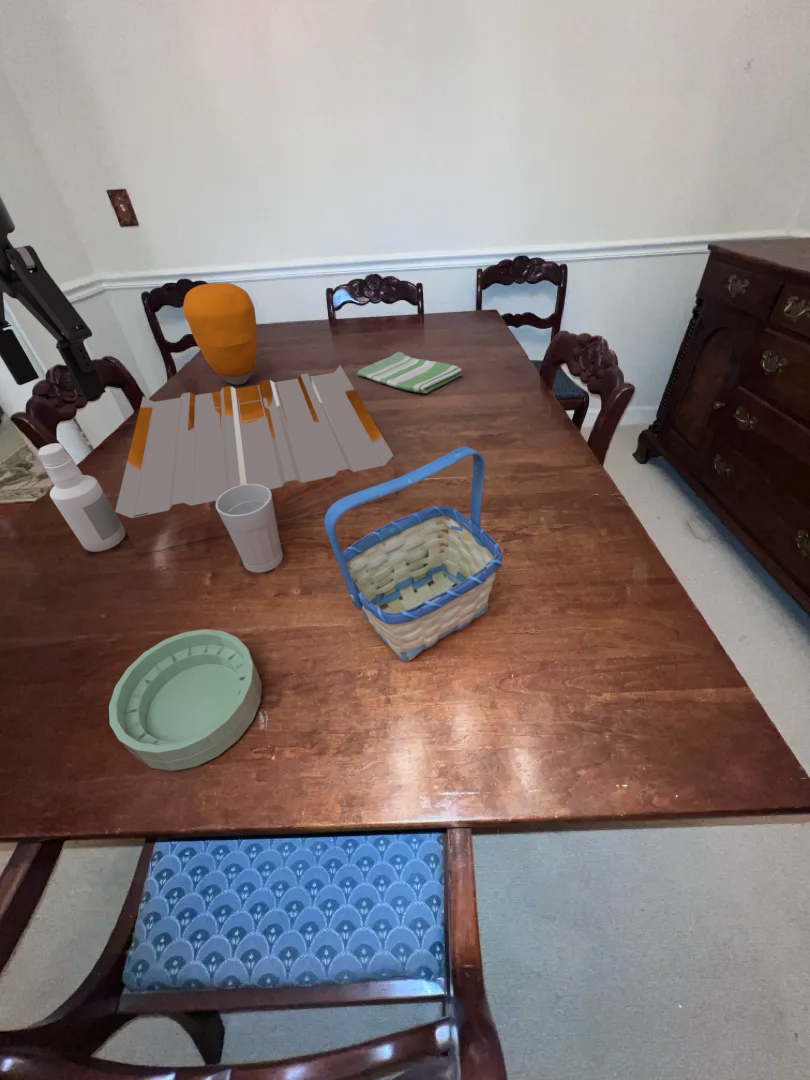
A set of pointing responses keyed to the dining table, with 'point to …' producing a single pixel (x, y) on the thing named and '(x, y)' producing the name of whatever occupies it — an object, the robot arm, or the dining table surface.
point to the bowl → (186, 699)
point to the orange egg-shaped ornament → (224, 328)
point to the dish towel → (410, 373)
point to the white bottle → (81, 501)
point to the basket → (419, 563)
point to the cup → (252, 525)
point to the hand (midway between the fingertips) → (60, 388)
